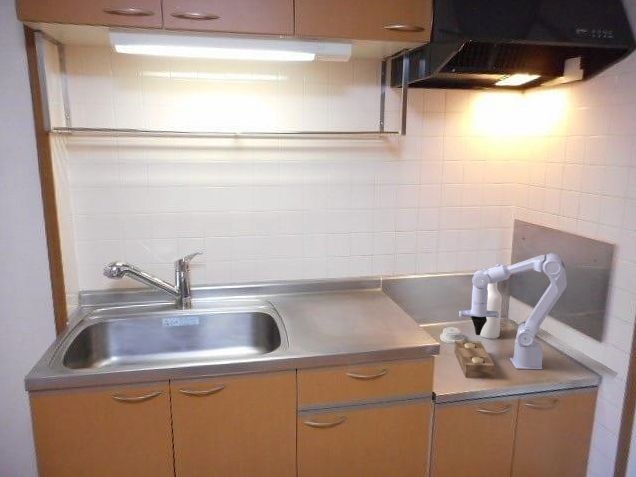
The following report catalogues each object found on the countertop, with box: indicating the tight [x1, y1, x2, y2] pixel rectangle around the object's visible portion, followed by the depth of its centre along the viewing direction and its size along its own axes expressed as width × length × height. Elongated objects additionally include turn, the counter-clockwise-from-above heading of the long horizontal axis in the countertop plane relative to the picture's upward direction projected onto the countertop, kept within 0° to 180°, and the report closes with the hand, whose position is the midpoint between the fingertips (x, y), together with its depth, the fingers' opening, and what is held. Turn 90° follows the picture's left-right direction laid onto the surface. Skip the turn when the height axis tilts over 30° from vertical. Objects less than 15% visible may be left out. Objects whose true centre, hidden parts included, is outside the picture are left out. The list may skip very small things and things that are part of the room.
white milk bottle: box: [479, 282, 503, 340], centre depth 196 cm, size 9×9×30 cm
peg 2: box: [472, 357, 483, 363], centre depth 168 cm, size 4×4×5 cm
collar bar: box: [453, 340, 496, 379], centre depth 174 cm, size 10×20×5 cm, turn 175°
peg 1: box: [465, 343, 475, 348], centre depth 180 cm, size 4×4×5 cm
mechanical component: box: [439, 326, 465, 345], centre depth 196 cm, size 10×4×10 cm
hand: (477, 334), depth 179 cm, fingers closed
